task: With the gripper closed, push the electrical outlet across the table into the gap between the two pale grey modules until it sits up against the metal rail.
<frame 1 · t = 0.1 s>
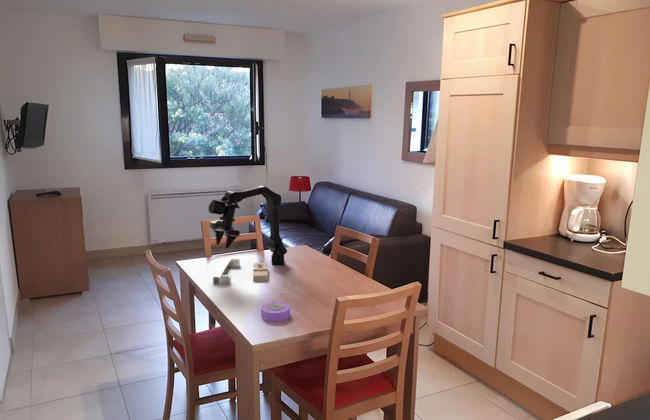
hand: (222, 246, 240), 15 cm above the table, tool pointing down, fingers open, 9 cm apart
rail: (222, 274, 246), on the table
electrical outlet: (260, 276, 246), on the table
masking tape: (275, 316, 196), on the table
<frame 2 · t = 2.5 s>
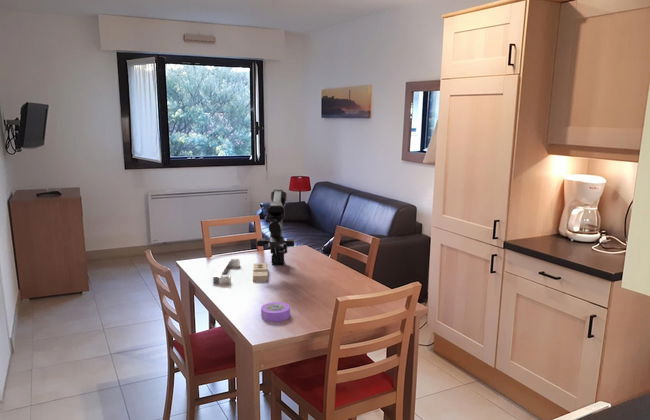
hand: (276, 258, 244), 9 cm above the table, tool pointing down, fingers closed
nothing on the table moved.
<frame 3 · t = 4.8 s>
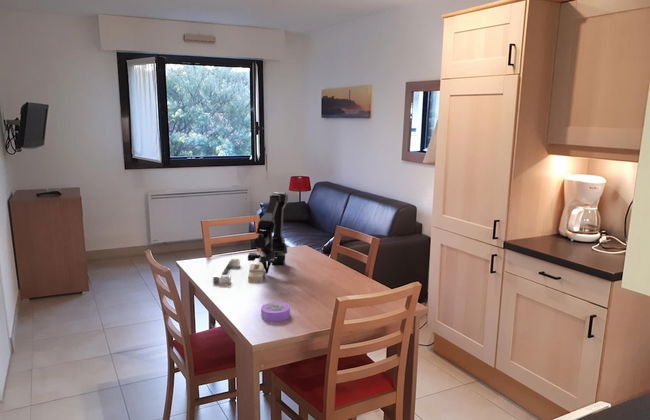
hand: (266, 272, 246), 1 cm above the table, tool pointing down, fingers closed
electrical outlet: (256, 276, 245), on the table
everything else where it was.
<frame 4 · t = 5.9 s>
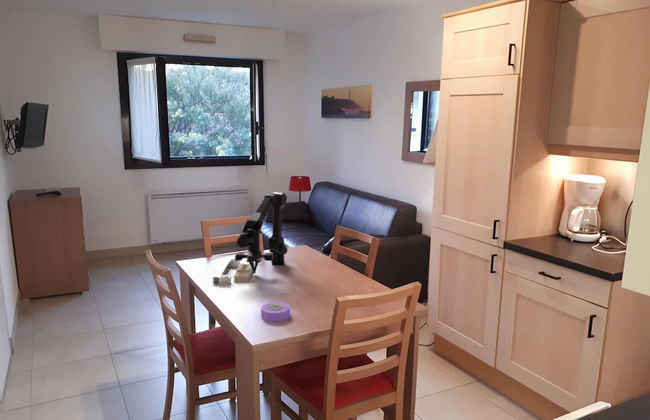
hand: (254, 272, 246), 1 cm above the table, tool pointing down, fingers closed
electrical outlet: (244, 276, 244), on the table
everything else where it was.
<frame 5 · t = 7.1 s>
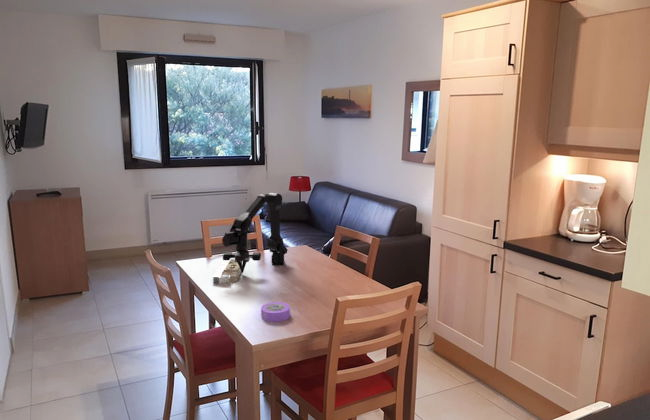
hand: (242, 272, 245), 1 cm above the table, tool pointing down, fingers closed
electrical outlet: (231, 276, 244), on the table, touching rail
everything else where it was.
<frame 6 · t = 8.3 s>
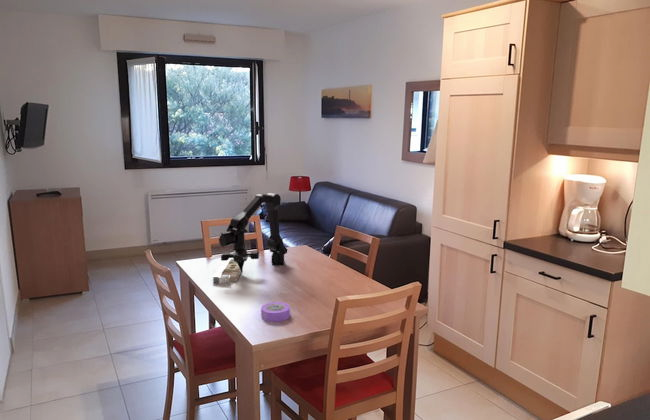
hand: (241, 271, 245), 1 cm above the table, tool pointing down, fingers closed
electrical outlet: (231, 276, 244), on the table, touching gripper, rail
everything else where it was.
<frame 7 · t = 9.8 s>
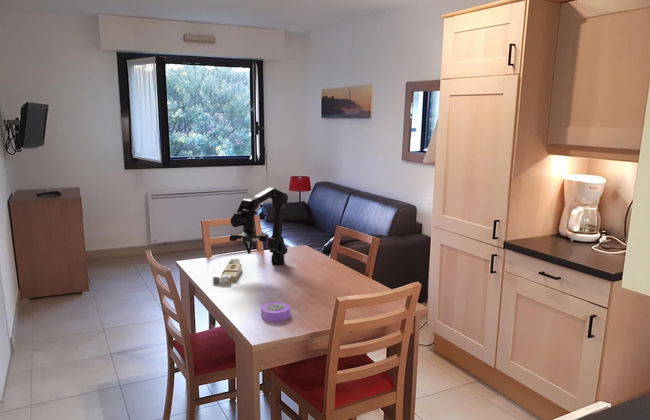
hand: (249, 253, 244), 11 cm above the table, tool pointing down, fingers closed
electrical outlet: (232, 276, 244), on the table
everything else where it was.
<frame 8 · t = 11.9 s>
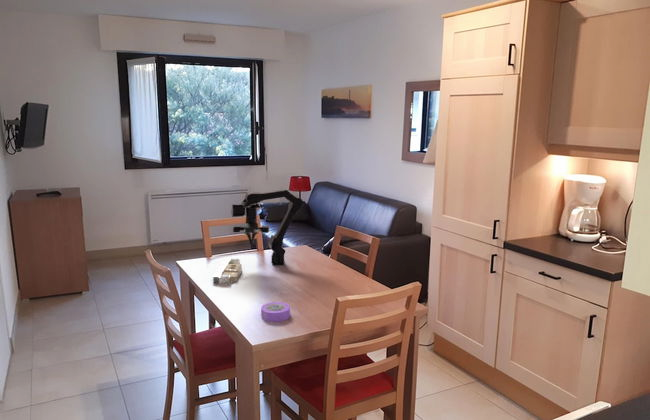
hand: (251, 244, 258), 12 cm above the table, tool pointing down, fingers closed
nothing on the table moved.
at the end: electrical outlet 2.8 cm from the target spot on the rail, point -0.6 cm above the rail's base; electrical outlet tilted 0°; electrical outlet moved 14.4 cm from its start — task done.
